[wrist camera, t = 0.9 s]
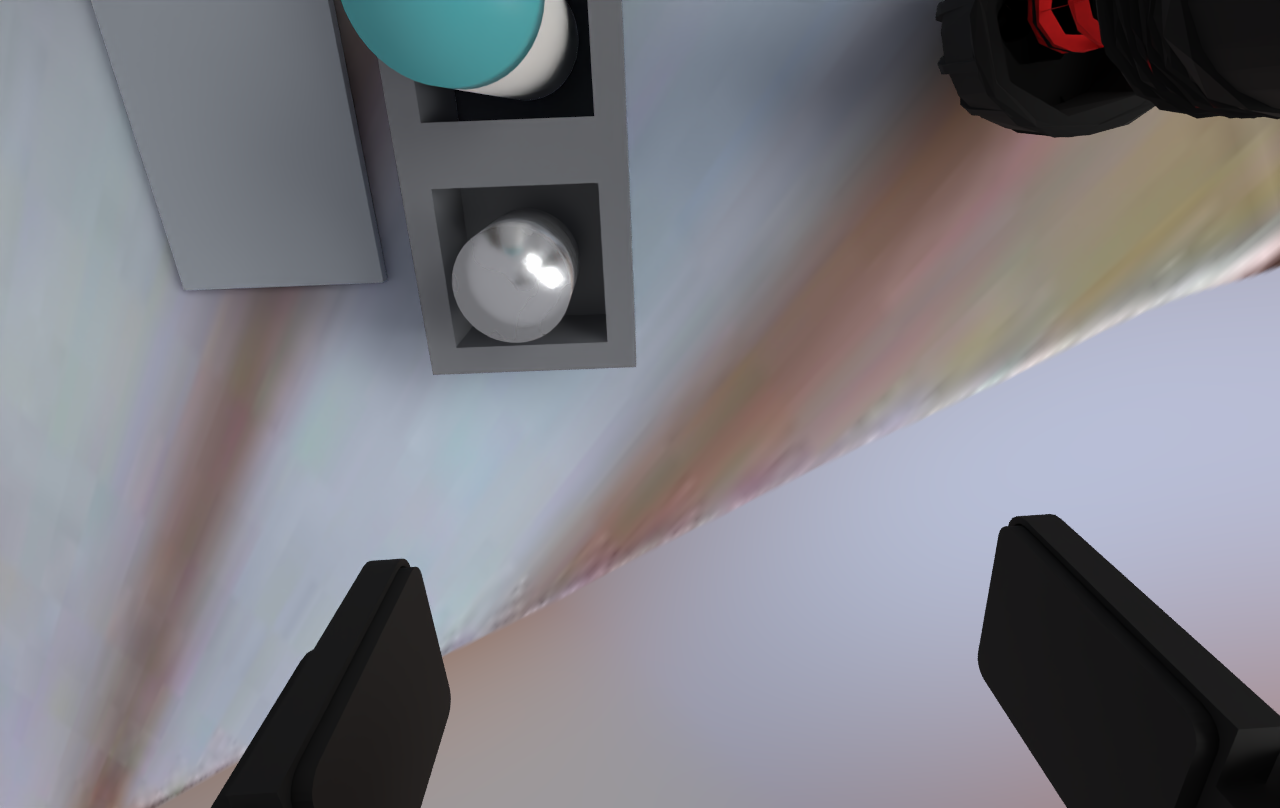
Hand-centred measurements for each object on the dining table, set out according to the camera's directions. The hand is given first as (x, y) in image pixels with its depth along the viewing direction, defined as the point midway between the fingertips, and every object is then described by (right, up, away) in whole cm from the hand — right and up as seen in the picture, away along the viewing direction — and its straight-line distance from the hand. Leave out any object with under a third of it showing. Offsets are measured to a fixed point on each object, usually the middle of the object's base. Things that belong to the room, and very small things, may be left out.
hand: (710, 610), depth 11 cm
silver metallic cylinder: (-6, +10, +18) cm, 22 cm away
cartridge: (-6, +20, +18) cm, 28 cm away
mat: (-19, +16, +20) cm, 32 cm away
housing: (-6, +15, +20) cm, 26 cm away
